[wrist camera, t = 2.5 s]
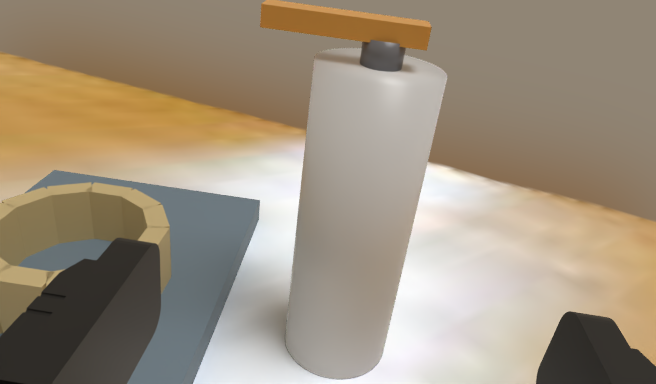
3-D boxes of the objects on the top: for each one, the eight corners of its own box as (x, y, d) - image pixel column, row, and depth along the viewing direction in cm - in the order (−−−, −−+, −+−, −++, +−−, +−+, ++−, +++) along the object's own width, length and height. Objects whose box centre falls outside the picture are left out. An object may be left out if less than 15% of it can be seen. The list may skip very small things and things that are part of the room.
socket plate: (258, 219, 35) (262, 159, 33) (134, 526, 17) (125, 441, 15) (57, 189, 35) (47, 128, 33) (-267, 461, 17) (-332, 368, 15)
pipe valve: (383, 313, 28) (449, 16, 20) (383, 386, 24) (468, 43, 16) (257, 294, 28) (277, -8, 21) (234, 363, 24) (249, 12, 16)
